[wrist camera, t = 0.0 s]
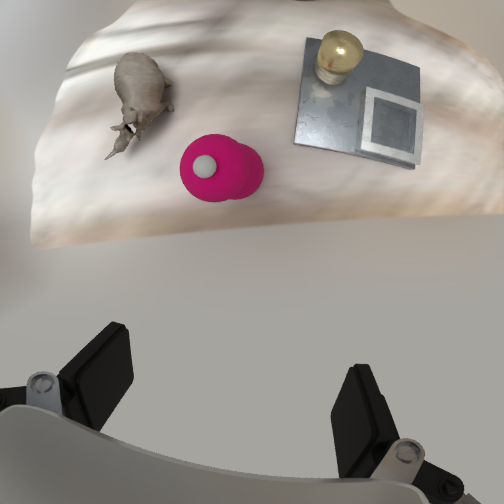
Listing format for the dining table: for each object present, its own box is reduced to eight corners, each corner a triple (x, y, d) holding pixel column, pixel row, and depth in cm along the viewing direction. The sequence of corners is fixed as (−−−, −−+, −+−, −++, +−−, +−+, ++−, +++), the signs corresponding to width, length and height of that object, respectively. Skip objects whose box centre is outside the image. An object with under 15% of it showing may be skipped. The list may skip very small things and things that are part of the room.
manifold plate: (305, 41, 33) (308, 29, 29) (415, 70, 32) (426, 62, 28) (293, 144, 37) (295, 140, 33) (410, 169, 36) (422, 169, 32)
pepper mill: (275, 177, 39) (272, 176, 19) (234, 207, 40) (192, 234, 21) (245, 137, 38) (213, 99, 18) (204, 167, 39) (139, 160, 20)
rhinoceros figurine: (184, 38, 32) (126, 61, 23) (192, 115, 42) (148, 162, 33) (140, 45, 33) (77, 73, 24) (152, 116, 44) (103, 161, 34)
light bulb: (315, 52, 32) (322, 26, 24) (349, 59, 32) (363, 35, 24) (312, 81, 33) (320, 59, 25) (347, 88, 33) (363, 69, 25)
